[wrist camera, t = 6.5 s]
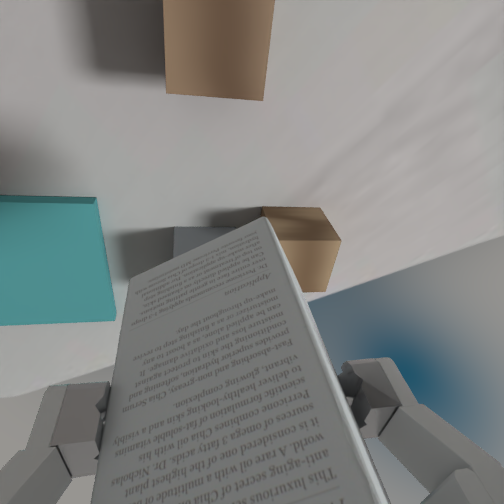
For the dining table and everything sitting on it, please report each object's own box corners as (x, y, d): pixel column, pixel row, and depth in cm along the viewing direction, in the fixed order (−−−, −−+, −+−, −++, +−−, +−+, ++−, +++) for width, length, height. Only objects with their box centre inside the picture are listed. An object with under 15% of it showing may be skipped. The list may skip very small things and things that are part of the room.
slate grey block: (175, 273, 30) (174, 315, 26) (174, 226, 28) (172, 264, 24) (230, 272, 31) (237, 312, 27) (235, 226, 28) (243, 263, 25)
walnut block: (169, 75, 21) (166, 93, 17) (166, -29, 18) (161, -36, 14) (248, 82, 22) (262, 100, 18) (257, -15, 19) (277, -19, 15)
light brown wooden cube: (254, 255, 31) (265, 293, 27) (261, 206, 28) (274, 240, 24) (307, 254, 32) (325, 291, 28) (319, 207, 29) (341, 240, 25)
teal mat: (-30, 318, 30) (-36, 327, 29) (-97, 193, 23) (-107, 200, 22) (116, 312, 32) (114, 320, 31) (96, 197, 25) (93, 204, 24)
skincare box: (183, 334, 16) (182, 832, 6) (127, 274, 13) (-11, 956, 4) (304, 283, 15) (503, 762, 6) (269, 209, 13) (526, 860, 3)
